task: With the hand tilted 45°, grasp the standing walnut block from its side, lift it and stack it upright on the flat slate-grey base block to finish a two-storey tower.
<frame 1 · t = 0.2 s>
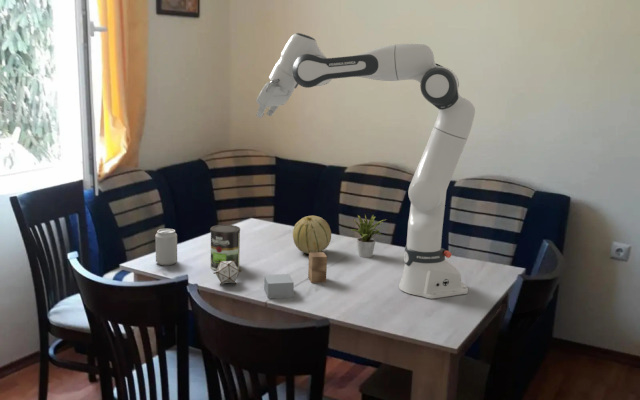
hand: (264, 116, 213), 54 cm above the table, tool tilted 25°, fingers open, 8 cm apart
base block: (278, 293, 202), on the table
walnut block: (317, 280, 216), on the table
cantaloupe: (311, 253, 245), on the table
house plant: (366, 257, 243), on the table
can: (166, 263, 227), on the table
game die: (227, 284, 209), on the table
coffee can: (225, 267, 226), on the table
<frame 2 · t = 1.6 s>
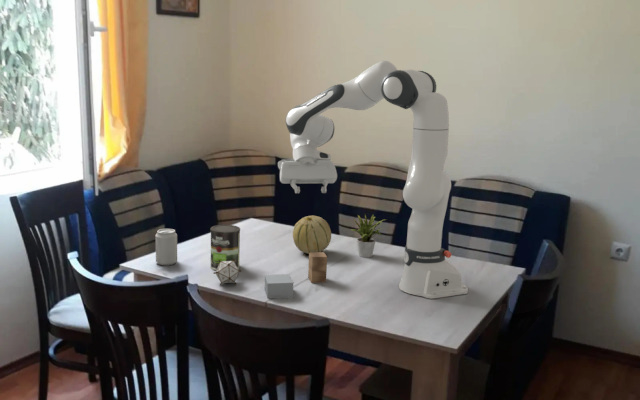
hand: (311, 192, 221), 28 cm above the table, tool tilted 45°, fingers open, 8 cm apart
nothing on the table moved.
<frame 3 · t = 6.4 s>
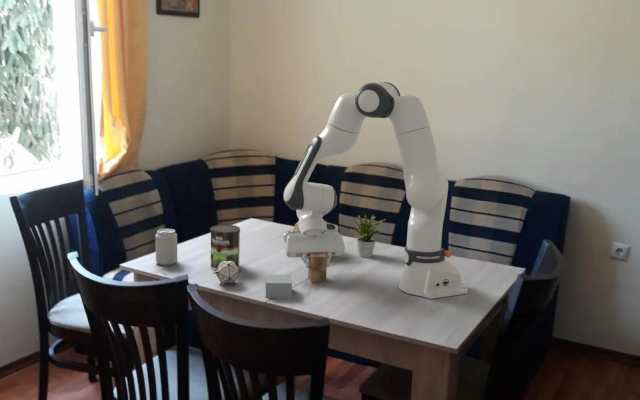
hand: (318, 266, 214), 5 cm above the table, tool tilted 45°, fingers closed on walnut block, 5 cm apart
walnut block: (317, 280, 215), on the table, touching gripper
everything else where it was.
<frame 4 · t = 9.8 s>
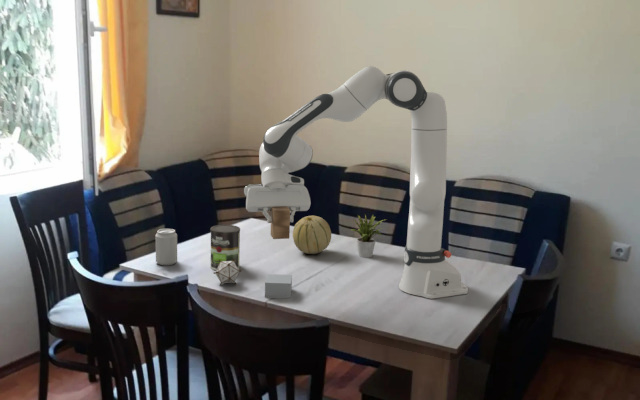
hand: (280, 221, 197), 23 cm above the table, tool tilted 45°, fingers closed on walnut block, 5 cm apart
walnut block: (279, 236, 199), point 19 cm above the table, touching gripper
everything else where it was.
when the fingers open (11 cm above the table, at t = 13.2 s): walnut block drops 1 cm, point 5 cm above the table.
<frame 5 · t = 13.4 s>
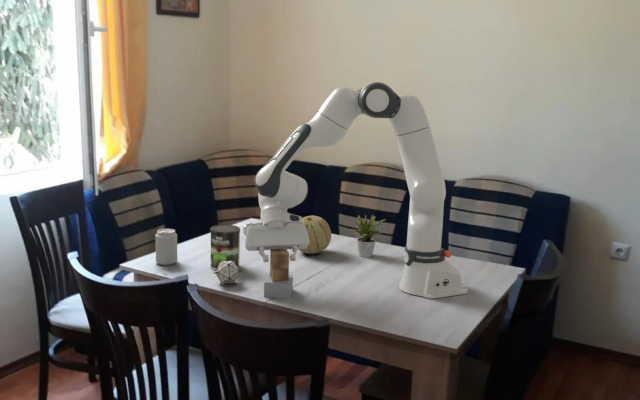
hand: (279, 260, 199), 11 cm above the table, tool tilted 45°, fingers open, 7 cm apart
walnut block: (279, 278, 201), point 5 cm above the table
everything else where it was.
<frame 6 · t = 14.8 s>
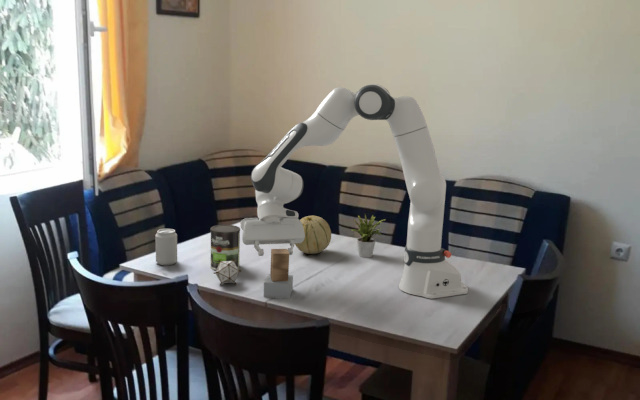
hand: (275, 254, 205), 11 cm above the table, tool tilted 45°, fingers open, 8 cm apart
base block: (278, 293, 202), on the table, touching walnut block
walnut block: (279, 278, 201), point 5 cm above the table, touching base block
everything else where it was.
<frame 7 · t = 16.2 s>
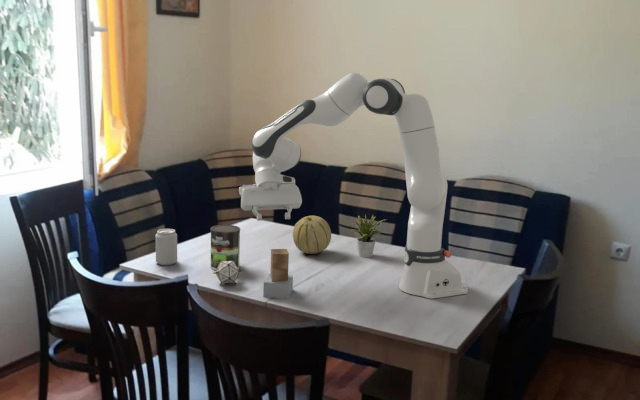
hand: (273, 219, 209), 21 cm above the table, tool tilted 45°, fingers open, 8 cm apart
nothing on the table moved.
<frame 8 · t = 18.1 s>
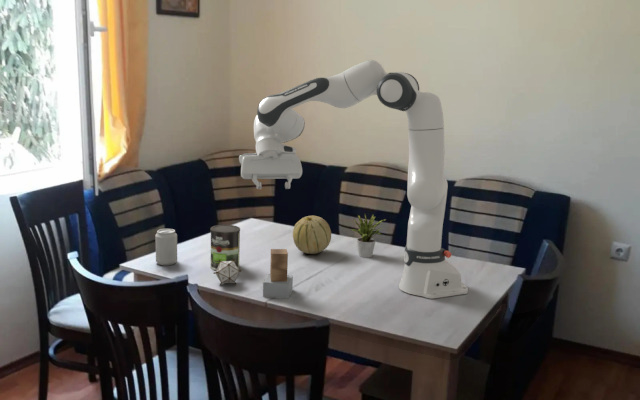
hand: (273, 188, 207), 31 cm above the table, tool tilted 45°, fingers open, 8 cm apart
nothing on the table moved.
at the end: walnut block 0.1 cm off-centre on the base block, point 5.0 cm above the base block's base; walnut block tilted 0°; the gripper is holding nothing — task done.
